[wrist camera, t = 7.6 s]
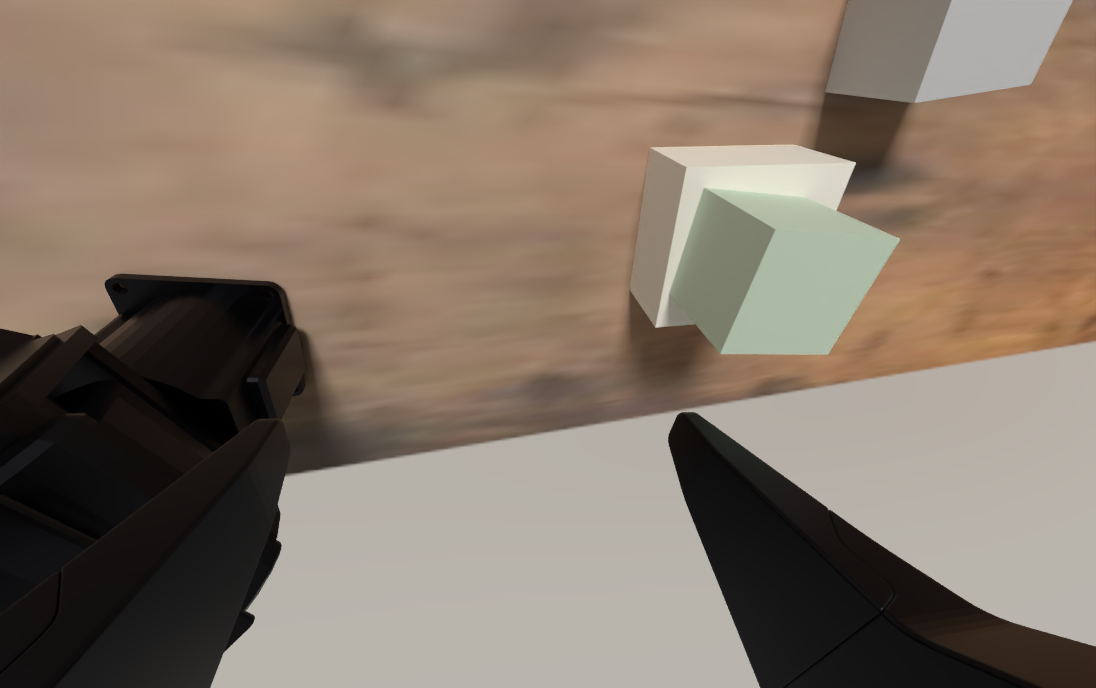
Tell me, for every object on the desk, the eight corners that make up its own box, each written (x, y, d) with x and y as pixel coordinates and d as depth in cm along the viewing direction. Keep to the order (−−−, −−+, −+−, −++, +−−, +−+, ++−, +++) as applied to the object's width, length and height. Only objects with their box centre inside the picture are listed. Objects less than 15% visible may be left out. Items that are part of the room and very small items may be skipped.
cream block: (627, 287, 22) (655, 327, 19) (647, 146, 18) (686, 167, 15) (747, 279, 23) (792, 316, 20) (791, 143, 19) (856, 162, 16)
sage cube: (669, 293, 18) (719, 353, 15) (703, 187, 16) (775, 229, 12) (759, 296, 19) (827, 354, 15) (805, 197, 17) (900, 238, 13)
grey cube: (823, 92, 18) (914, 102, 14) (858, -49, 15) (980, -79, 12) (919, 77, 18) (1031, 84, 15) (969, -63, 16) (1121, -97, 12)
